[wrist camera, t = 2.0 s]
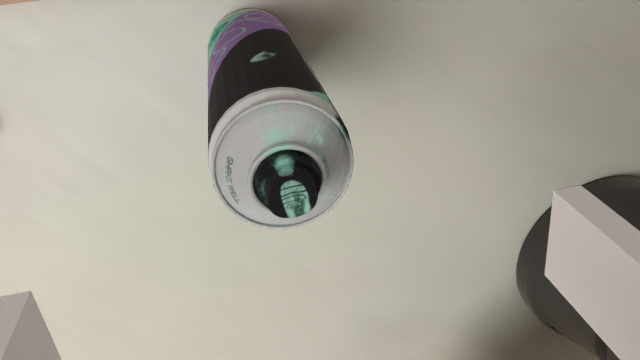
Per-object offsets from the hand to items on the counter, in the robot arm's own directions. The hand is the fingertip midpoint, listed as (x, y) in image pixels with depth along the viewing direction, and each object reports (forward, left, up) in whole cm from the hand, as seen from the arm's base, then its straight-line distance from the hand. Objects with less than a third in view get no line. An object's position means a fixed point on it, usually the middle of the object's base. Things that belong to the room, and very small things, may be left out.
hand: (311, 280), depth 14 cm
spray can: (0, 0, -25) cm, 25 cm away
